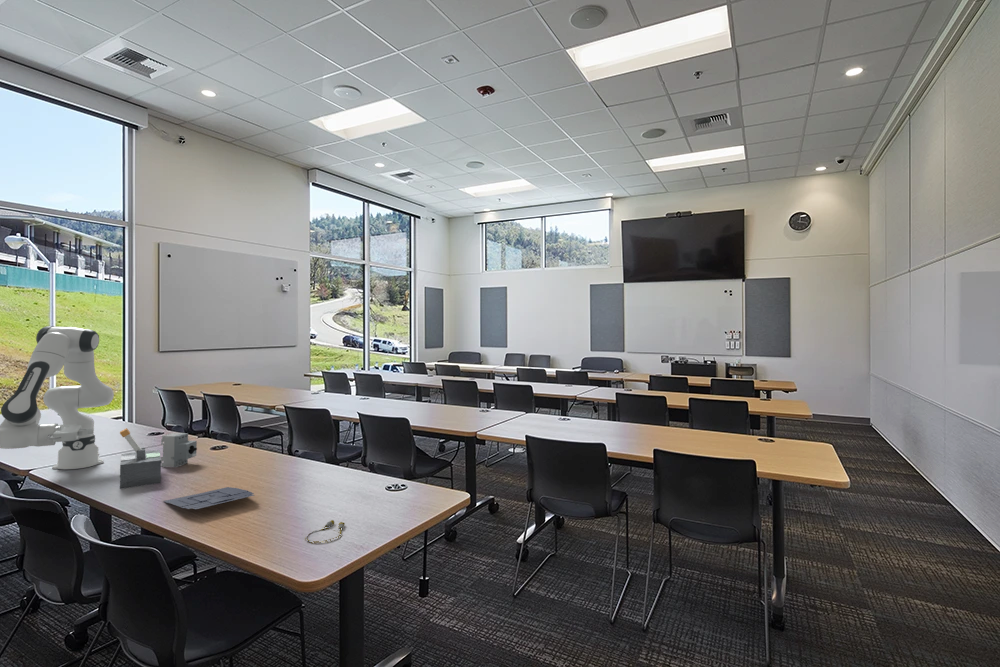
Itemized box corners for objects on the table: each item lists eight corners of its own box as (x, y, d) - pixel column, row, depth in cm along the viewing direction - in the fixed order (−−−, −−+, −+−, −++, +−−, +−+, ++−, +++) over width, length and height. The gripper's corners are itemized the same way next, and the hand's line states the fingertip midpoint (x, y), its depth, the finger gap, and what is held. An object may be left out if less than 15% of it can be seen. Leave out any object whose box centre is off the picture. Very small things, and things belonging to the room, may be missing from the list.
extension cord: (358, 531, 166) (358, 525, 166) (320, 548, 153) (320, 542, 153) (334, 523, 173) (334, 518, 173) (295, 539, 159) (295, 533, 159)
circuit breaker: (189, 467, 237) (190, 436, 237) (160, 466, 237) (161, 435, 237) (199, 463, 244) (200, 433, 244) (171, 462, 245) (172, 432, 245)
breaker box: (121, 475, 222) (121, 446, 222) (158, 471, 230) (159, 442, 230) (119, 488, 204) (120, 456, 204) (160, 483, 212) (161, 452, 212)
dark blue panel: (189, 518, 171) (189, 508, 171) (162, 508, 190) (162, 498, 190) (260, 501, 189) (260, 491, 189) (229, 493, 208) (228, 484, 209)
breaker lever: (139, 456, 218) (119, 431, 214) (145, 452, 219) (126, 428, 215) (139, 458, 215) (119, 433, 211) (145, 454, 217) (126, 429, 213)
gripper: (45, 431, 190) (91, 427, 199) (53, 423, 207) (95, 420, 215) (45, 447, 190) (91, 443, 199) (53, 438, 207) (95, 434, 215)
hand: (93, 431), depth 207 cm, fingers closed
